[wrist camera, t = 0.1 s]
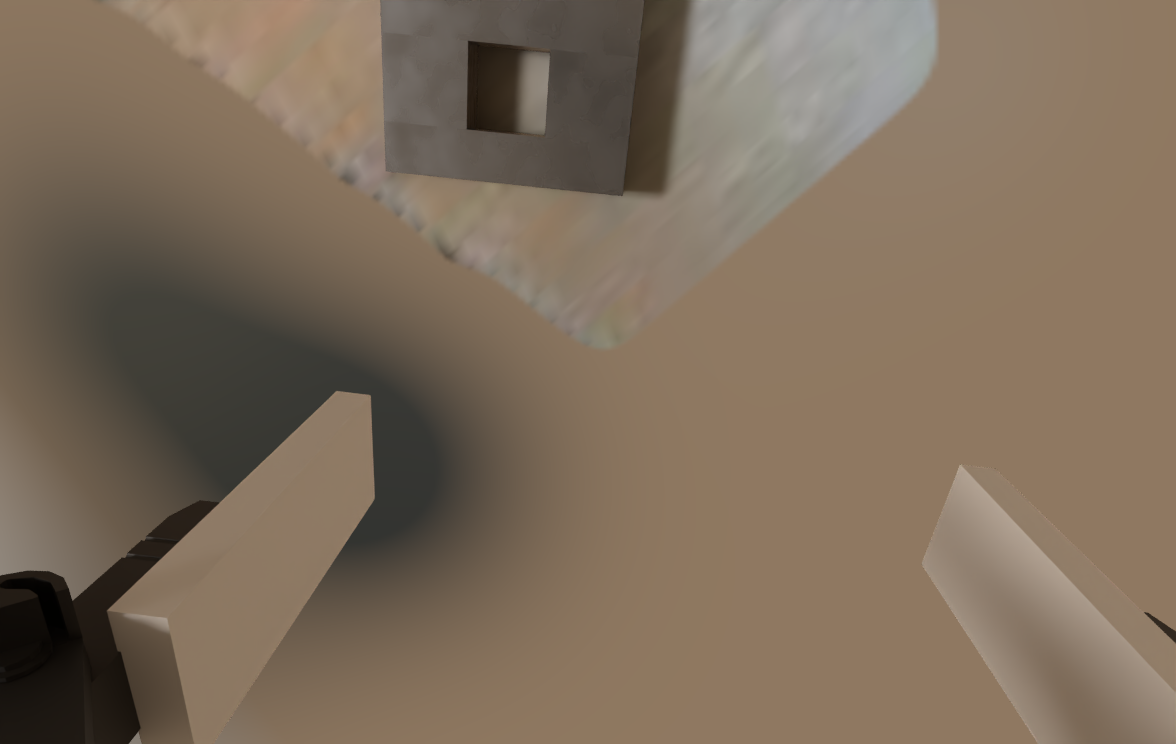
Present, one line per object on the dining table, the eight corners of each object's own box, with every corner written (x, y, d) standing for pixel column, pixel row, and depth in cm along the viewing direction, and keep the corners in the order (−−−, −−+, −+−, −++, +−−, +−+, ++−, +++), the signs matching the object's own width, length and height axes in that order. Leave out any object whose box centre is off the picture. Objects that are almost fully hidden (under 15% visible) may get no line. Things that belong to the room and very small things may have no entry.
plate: (391, -200, 32) (373, -224, 30) (663, -174, 32) (666, -196, 29) (400, 167, 39) (385, 171, 37) (622, 191, 39) (622, 195, 36)
